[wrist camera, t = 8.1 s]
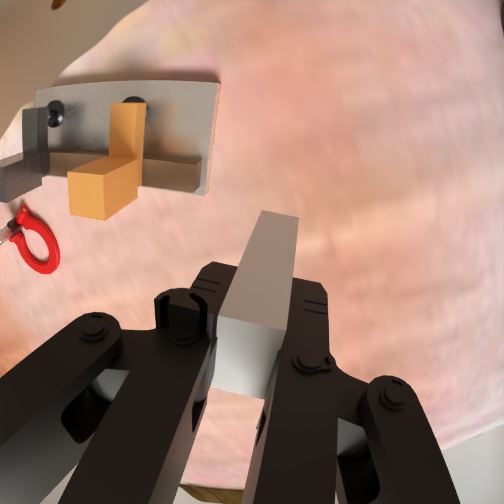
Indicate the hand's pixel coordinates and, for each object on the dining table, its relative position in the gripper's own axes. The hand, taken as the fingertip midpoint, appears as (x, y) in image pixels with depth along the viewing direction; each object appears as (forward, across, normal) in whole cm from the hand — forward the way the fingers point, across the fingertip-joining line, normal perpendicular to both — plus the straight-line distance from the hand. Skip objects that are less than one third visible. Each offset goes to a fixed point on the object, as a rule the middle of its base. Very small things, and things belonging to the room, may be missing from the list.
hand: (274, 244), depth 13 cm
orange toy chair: (+13, -13, +1) cm, 18 cm away
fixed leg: (+12, -25, +1) cm, 27 cm away
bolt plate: (+14, -18, +1) cm, 23 cm away
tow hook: (+14, -31, -14) cm, 37 cm away
